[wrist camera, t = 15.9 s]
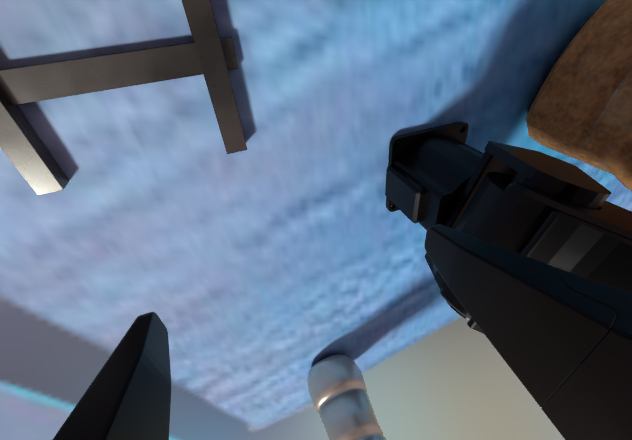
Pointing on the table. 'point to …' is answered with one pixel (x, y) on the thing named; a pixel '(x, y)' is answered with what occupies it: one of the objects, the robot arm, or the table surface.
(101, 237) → the table surface
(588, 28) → the bread
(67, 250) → the table surface
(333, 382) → the plastic bottle
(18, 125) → the rail track
